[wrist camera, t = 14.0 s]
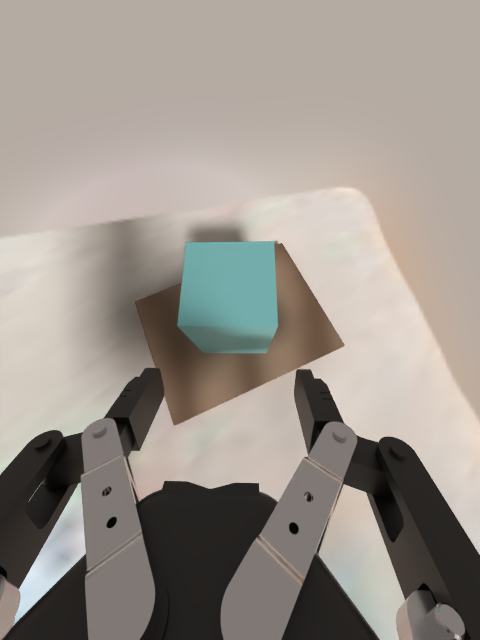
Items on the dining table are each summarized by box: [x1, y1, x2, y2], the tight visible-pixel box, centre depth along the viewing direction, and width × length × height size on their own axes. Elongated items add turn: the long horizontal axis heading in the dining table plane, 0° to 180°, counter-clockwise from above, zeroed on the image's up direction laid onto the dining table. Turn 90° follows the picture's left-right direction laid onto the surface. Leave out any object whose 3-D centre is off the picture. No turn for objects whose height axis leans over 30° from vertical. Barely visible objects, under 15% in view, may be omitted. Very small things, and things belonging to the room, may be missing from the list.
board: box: [135, 243, 345, 425], centre depth 22 cm, size 16×12×1 cm
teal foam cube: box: [177, 241, 278, 353], centre depth 17 cm, size 6×6×8 cm
